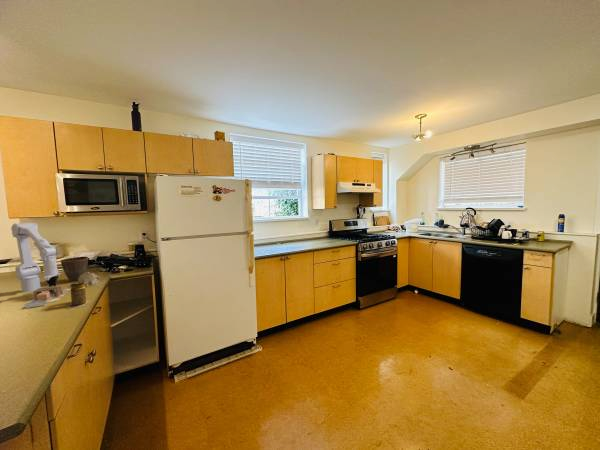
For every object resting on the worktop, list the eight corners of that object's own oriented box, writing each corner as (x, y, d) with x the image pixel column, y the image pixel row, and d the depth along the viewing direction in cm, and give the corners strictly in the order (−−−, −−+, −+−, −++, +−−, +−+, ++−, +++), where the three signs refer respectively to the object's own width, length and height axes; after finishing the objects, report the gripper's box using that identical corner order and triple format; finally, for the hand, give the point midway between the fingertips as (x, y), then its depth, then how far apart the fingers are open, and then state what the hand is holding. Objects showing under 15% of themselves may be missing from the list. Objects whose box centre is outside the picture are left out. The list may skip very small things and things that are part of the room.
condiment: (89, 300, 142) (87, 280, 141) (84, 306, 135) (82, 284, 134) (72, 303, 139) (70, 282, 138) (66, 308, 131) (64, 286, 130)
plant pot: (93, 279, 183) (91, 257, 182) (66, 285, 171) (64, 262, 169) (85, 276, 191) (83, 255, 190) (59, 281, 179) (57, 259, 177)
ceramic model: (105, 283, 173) (104, 269, 172) (90, 289, 162) (89, 274, 161) (87, 283, 174) (86, 269, 173) (71, 289, 163) (69, 274, 162)
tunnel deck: (43, 293, 155) (42, 284, 155) (72, 289, 162) (71, 280, 161) (21, 308, 132) (19, 297, 132) (56, 303, 139) (55, 293, 138)
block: (40, 299, 142) (40, 293, 141) (50, 298, 143) (49, 291, 143) (37, 302, 138) (36, 295, 138) (47, 301, 140) (46, 294, 140)
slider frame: (44, 294, 150) (44, 286, 149) (60, 292, 153) (59, 284, 153) (25, 308, 130) (24, 298, 129) (44, 305, 133) (43, 296, 133)
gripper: (54, 269, 146) (56, 291, 147) (63, 263, 159) (65, 284, 160) (37, 270, 143) (40, 293, 144) (48, 265, 155) (51, 286, 157)
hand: (52, 288), depth 152 cm, fingers closed, pressing on slider frame
